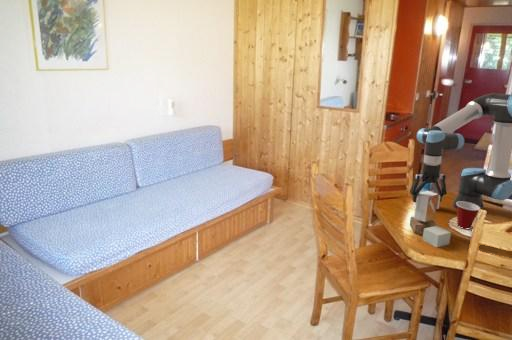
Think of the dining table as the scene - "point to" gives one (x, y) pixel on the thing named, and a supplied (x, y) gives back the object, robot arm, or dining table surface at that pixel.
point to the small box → (426, 206)
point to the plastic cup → (466, 213)
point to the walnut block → (420, 225)
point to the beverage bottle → (428, 188)
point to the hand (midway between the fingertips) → (425, 208)
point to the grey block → (436, 236)
